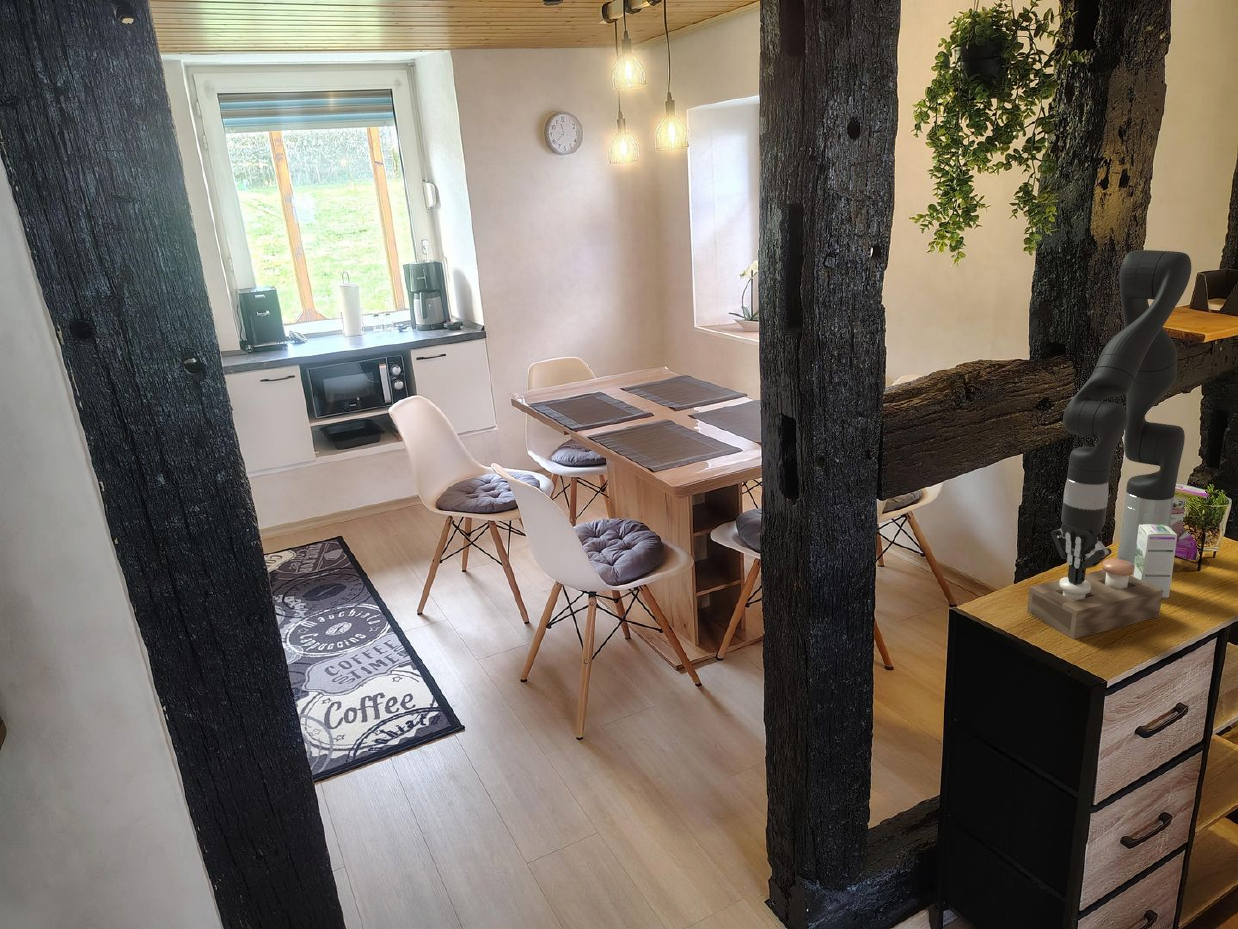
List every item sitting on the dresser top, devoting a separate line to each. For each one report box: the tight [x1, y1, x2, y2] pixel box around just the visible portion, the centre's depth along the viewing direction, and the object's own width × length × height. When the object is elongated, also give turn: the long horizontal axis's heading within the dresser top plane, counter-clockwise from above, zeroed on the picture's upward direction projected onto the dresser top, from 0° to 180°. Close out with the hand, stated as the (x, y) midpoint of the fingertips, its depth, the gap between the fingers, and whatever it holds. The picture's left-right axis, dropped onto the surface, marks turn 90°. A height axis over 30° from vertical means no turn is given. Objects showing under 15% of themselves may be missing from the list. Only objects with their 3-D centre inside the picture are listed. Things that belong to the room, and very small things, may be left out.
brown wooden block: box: [1026, 569, 1163, 640], centre depth 175 cm, size 22×12×6 cm, turn 109°
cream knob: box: [1059, 576, 1091, 601], centre depth 173 cm, size 6×6×7 cm
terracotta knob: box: [1102, 558, 1135, 590], centre depth 175 cm, size 6×6×7 cm
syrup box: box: [1132, 524, 1177, 599], centre depth 182 cm, size 6×6×14 cm
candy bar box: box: [1170, 482, 1211, 560], centre depth 199 cm, size 11×5×16 cm, turn 33°
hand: (1075, 582), depth 171 cm, fingers closed
